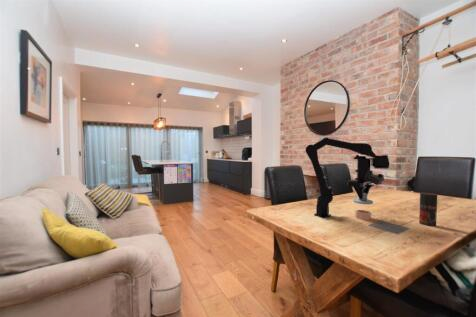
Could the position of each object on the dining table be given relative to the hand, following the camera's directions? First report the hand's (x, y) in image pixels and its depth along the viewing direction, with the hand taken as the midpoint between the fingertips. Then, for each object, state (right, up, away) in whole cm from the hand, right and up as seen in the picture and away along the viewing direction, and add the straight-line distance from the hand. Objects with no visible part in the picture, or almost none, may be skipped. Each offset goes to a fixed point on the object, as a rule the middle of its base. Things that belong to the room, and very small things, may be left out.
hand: (363, 198), depth 109 cm
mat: (+4, -11, -12) cm, 17 cm away
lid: (0, -2, 0) cm, 2 cm away
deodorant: (+25, -11, -9) cm, 29 cm away
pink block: (0, -11, 0) cm, 11 cm away
